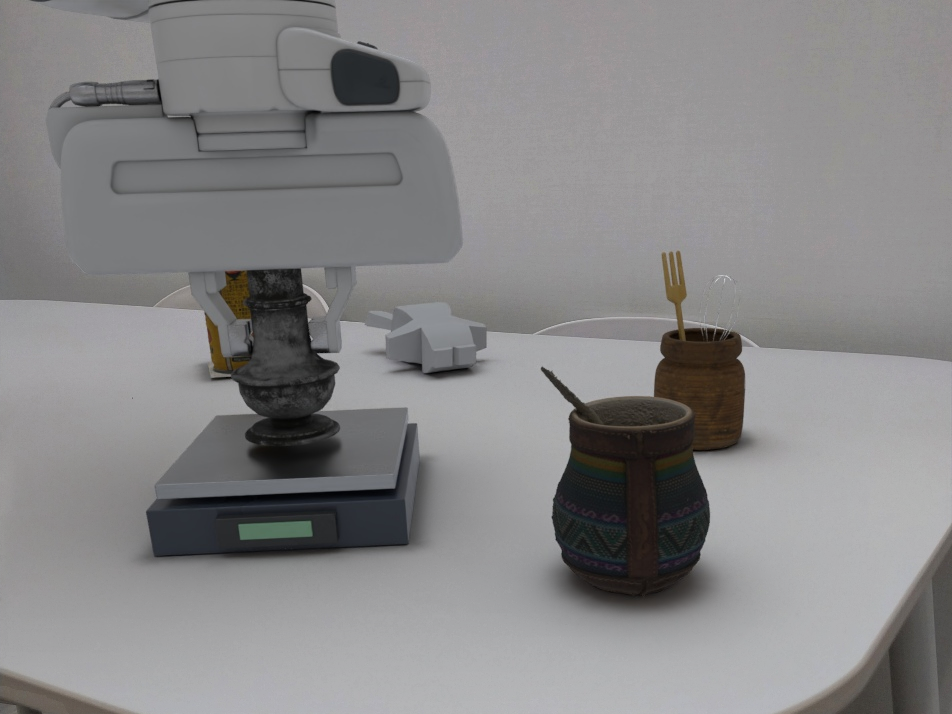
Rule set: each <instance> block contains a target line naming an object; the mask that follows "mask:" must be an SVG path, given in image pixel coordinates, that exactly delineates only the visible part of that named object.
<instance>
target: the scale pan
mask: <svg viewBox="0 0 952 714" xmlns="http://www.w3.org/2000/svg"><path fill="white" fill-rule="evenodd" d="M314 414H321V415H325V416H327V417H329V418H330V419H332V420H334V421H336V422H338V423H339V425H340V430H339V432H338V433H337V434H335V435H334V436H332V437H329V438H327V439H324V440H321V441H317V442H313V443H308V444H302V445H293V446H265V445H258V444H254V443H251V442H249V441H248V440H246V438H245V433H246V431H247V430H248V429H249V428H250V427H252V426H253V425H254V424H255V423H256V422H258V421H260V420H263V419H265V418H269V417H264V416H260V415H258V414H257V413H245V414H244V413H243V414H221V415H220V414H219V415H218V414H217V415H215V416H214V418H212V420H211V421H210V422H209V423H208V424H207V425H206V427H204V429H203V430H202V431H201V432H200V433H199V434H198V435H197V436H196V438H195V439H194V440H193V441H192V442H191V444H190V445H189V446H188V447H187V448H186V449H185V450H184V451H183V452H182V454H181V455H180V456H179V457H178V458H177V459H176V460H175V462H173V464H171V466H170V467H169V468H168V470H166V471H165V473H164V474H163V475H162V476H161V477H160V478H159V480H158V481H157V482H156V483H155V484H154V490H155V496H156V499H158V500H159V499H181V498H203V497H225V496H247V495H269V494H291V493H313V492H335V491H357V490H379V489H395V486H396V481H397V476H398V471H399V466H400V460H401V455H402V450H403V445H404V440H405V435H406V430H407V424H408V423H409V419H410V418H409V408H408V407H385V408H384V407H383V408H382V407H381V408H361V409H338V410H335V409H333V410H320V411H318V412H315V413H314Z"/></svg>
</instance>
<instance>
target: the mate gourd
mask: <svg viewBox="0 0 952 714" xmlns="http://www.w3.org/2000/svg"><path fill="white" fill-rule="evenodd" d="M540 371H541V372H542V373H543V374H544V376H545V377H546V378H547V379H548V381H549V382H550V383H551V384H552V385H553V386H554V388H556V389H557V391H558V392H559V393H560V395H561V396H562V397H563V399H565V400H566V401H567V402H568V403H569V404H571V405H572V406H573V409H572V410H571V412H569V415H568V418H567V419H568V424H569V429H568V430H569V431H568V432H569V433H568V434H569V435H568V440H569V442H570V452H569V456H568V460H567V463H566V465H565V468H564V470H563V473H562V475H561V477H560V480H559V481H558V483H557V486H556V489H555V494H554V497H553V498H552V511H551V513H552V514H551V516H550V517H551V519H552V526H553V530H554V537H555V539H554V540H555V541H556V543H557V544H558V546H559V548H560V550H561V553H560V556H561V559H562V561H563V562H564V564H566V566H567V567H568V568H569V569H570V570H571V571H572V572H573V573H574V574H575V575H576V576H578V577H579V578H581V579H582V580H583V581H585V582H586V583H587V584H589V585H591V586H592V587H594V588H597V589H600V590H602V591H605V592H610V593H611V592H612V593H617V594H624V595H625V594H627V595H632V596H633V597H636V596H638V595H639V596H642V597H643V598H645V597H646V595H649V594H653V593H654V594H655V593H657V592H662V591H664V590H666V589H669V588H670V587H671V586H673V585H674V584H676V583H678V582H679V581H680V580H682V579H683V578H685V577H686V576H688V574H689V573H690V572H691V571H692V570H693V568H695V566H696V565H697V564H698V562H699V561H700V559H701V551H702V549H703V547H704V544H705V542H706V538H707V535H708V532H709V529H710V524H711V513H712V512H711V509H710V501H709V499H708V496H709V495H708V492H707V489H706V486H705V484H704V481H703V479H702V476H701V474H700V472H699V469H698V466H697V464H696V460H695V456H694V450H693V449H692V442H693V440H694V438H695V427H694V423H695V413H694V411H693V409H692V408H690V407H689V406H687V405H685V404H682V403H680V402H677V401H673V400H670V399H665V398H659V397H654V396H648V395H632V396H631V395H625V396H624V395H623V396H613V397H605V398H600V399H595V400H592V401H587V402H584V401H582V400H581V399H580V398H579V397H578V396H577V395H576V394H575V393H574V392H573V391H571V389H570V388H569V387H568V386H567V385H565V384H564V383H563V382H562V380H561V379H558V376H556V374H554V372H553V370H551V371H550V369H547V368H546V367H544V366H541V367H540Z"/></svg>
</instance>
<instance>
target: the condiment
mask: <svg viewBox="0 0 952 714" xmlns="http://www.w3.org/2000/svg"><path fill="white" fill-rule="evenodd" d="M225 277H226V286H225V287H224V288H223V289H221V290H220V291H218V292H219V294H220V295H221V296H222V298H223V299H224V301H225V302H226V304H227V305H228V307H229V308H230V309H231V311H232V312H233V314H234V315H235V317H236V318H237V319H251V314H250V309H249V308H248V307H247V306H244V304H243V301H244V300H246V299H247V298H248V297H250V295H249V287H248V279H247V271H246V270H242V271H225ZM203 314H204V316H205V317H204V318H205V319H204V320H205V326H206V332H207V340H208V345H209V351H210V352H209V353H210V358H211V359H210V360H211V361H207V362H206V363H207V367H208V371H209V376H210V379H214V378H226V377H228V378H230V377H231V373H232V372H233V371H234V370H235V369H237V368H239V367H241V366H244V365H246V364H247V363H248V362H249V361H250V359H251V357H252V355H251V356H240V357H223V355H222V352H221V345H220V338H219V332H218V326H217V325H214V323H213V322H212V321H211V319H210V318H209V317H208V315H207V314H206V313H205V311H204V310H203ZM251 336H252V337H253V332H252V334H251ZM253 338H254V337H253Z"/></svg>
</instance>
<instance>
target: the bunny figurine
mask: <svg viewBox="0 0 952 714" xmlns="http://www.w3.org/2000/svg"><path fill="white" fill-rule="evenodd" d="M364 326H366V327H369V328H375V329H382V330H388V331H390V332H388V333H386V334H385V335H384V339H385V340H384V341H385V358H386V359H387V360H390V361H399V362H405V363H415V364H419V365H421V371H422V373H423V374H430V373H437V372H445V371H455V370H461V369H467V368H471V367H472V366H473V364H477V352H479V351H482V350H484V349H487V348H488V347H487V346H488V345H487V344H488V342H487V341H488V340H487V339H488V336H487V335H488V333H487V331H488V330H487V329H488V328H487V325H486V324H485V323H482V322H477V321H473V320H470V319H465V318H461V317H457V316H456V315H452V309H451V307H450V305H449V304H448V303H446V302H444V301H435V302H425V303H416V304H407V305H397V306H393V312H392V313H391V312H388V311H384V310H369V311H368V313H367V316H366V319H365V322H364Z"/></svg>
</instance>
